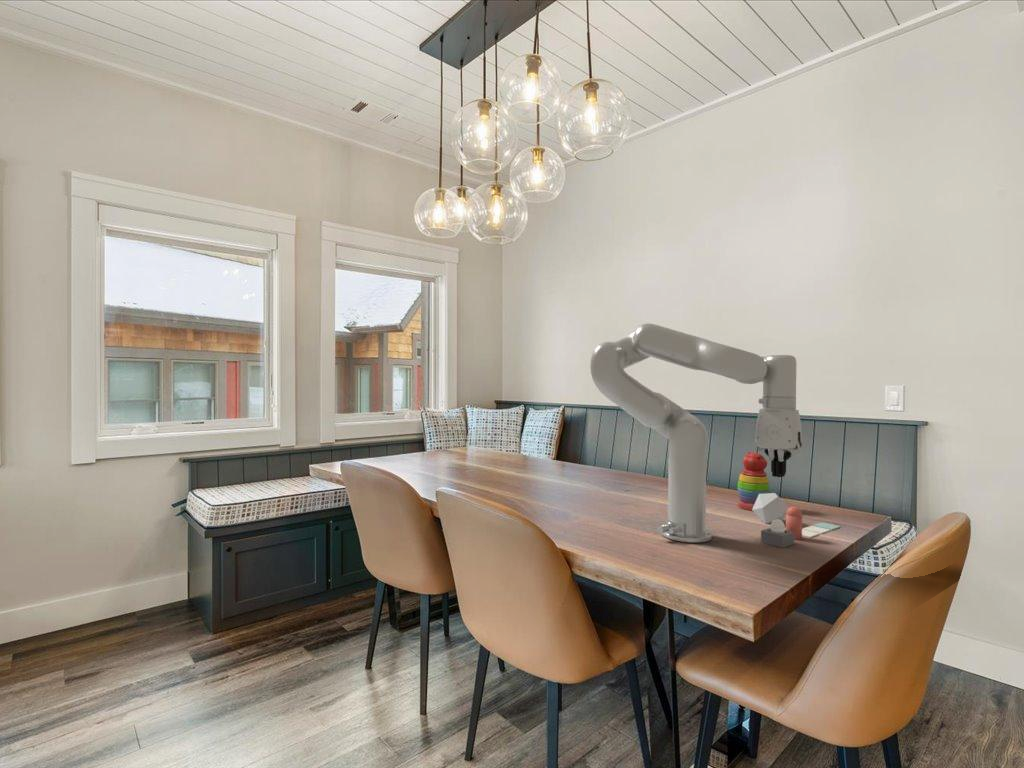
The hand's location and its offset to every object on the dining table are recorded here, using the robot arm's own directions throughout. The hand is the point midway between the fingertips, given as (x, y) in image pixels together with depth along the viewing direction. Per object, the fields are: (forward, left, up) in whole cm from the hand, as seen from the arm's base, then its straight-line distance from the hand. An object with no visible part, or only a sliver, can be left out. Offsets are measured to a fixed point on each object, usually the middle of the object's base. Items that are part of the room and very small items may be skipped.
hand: (778, 476), depth 138 cm
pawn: (+8, 0, -17) cm, 19 cm away
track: (+17, 0, -17) cm, 24 cm away
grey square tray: (0, 0, -17) cm, 17 cm away
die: (+18, +12, -17) cm, 28 cm away
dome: (0, 0, -15) cm, 15 cm away
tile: (+26, 0, -17) cm, 31 cm away
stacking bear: (+30, +24, -17) cm, 42 cm away
